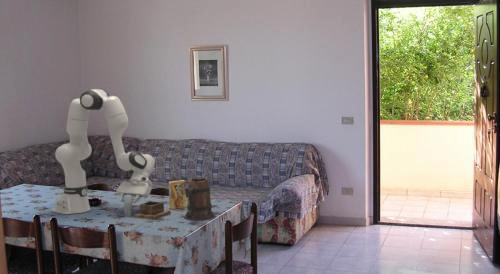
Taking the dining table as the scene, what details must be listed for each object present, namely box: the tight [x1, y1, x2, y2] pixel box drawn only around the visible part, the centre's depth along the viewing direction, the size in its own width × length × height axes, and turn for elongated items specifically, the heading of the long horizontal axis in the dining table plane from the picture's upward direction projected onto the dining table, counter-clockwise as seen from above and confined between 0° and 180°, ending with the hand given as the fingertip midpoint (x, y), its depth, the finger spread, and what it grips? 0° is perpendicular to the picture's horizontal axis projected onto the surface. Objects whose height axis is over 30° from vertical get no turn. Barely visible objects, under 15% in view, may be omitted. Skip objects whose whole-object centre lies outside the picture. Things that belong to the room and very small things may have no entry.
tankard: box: [183, 177, 217, 222], centre depth 288 cm, size 24×17×20 cm
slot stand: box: [133, 200, 171, 220], centre depth 298 cm, size 14×14×6 cm
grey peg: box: [123, 195, 134, 217], centre depth 299 cm, size 4×4×11 cm
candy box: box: [168, 179, 187, 210], centre depth 314 cm, size 9×4×15 cm, turn 119°
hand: (127, 202), depth 298 cm, fingers open, 7 cm apart
